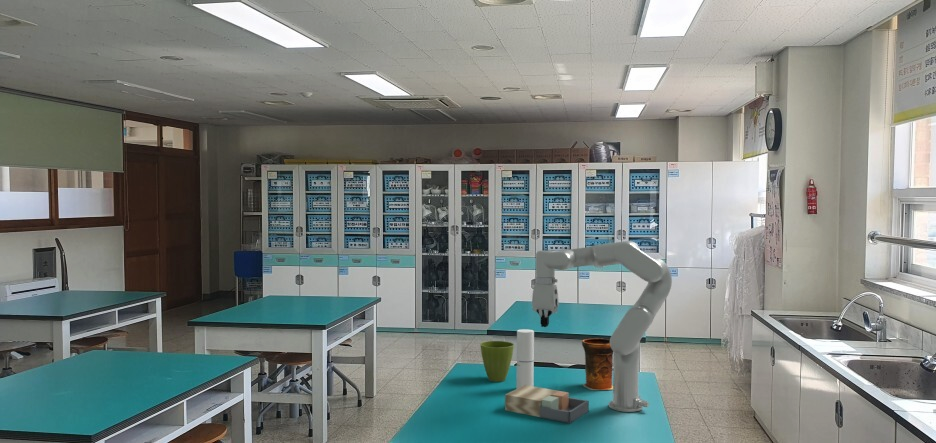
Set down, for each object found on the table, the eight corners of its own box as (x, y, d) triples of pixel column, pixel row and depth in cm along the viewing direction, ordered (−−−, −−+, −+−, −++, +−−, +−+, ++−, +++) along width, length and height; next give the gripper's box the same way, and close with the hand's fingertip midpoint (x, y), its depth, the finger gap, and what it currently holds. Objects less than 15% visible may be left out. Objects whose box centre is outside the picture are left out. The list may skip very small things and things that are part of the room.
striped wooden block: (559, 406, 259) (559, 390, 259) (540, 417, 246) (540, 401, 246) (525, 399, 267) (525, 385, 267) (505, 410, 254) (505, 394, 254)
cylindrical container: (527, 393, 277) (528, 333, 276) (513, 390, 282) (513, 331, 281) (536, 389, 283) (537, 330, 282) (522, 386, 287) (522, 328, 286)
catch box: (588, 411, 253) (588, 400, 253) (569, 423, 239) (569, 412, 239) (559, 405, 260) (559, 395, 260) (539, 417, 245) (539, 406, 245)
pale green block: (548, 411, 251) (558, 413, 249) (541, 415, 246) (551, 417, 244) (548, 395, 251) (558, 397, 249) (541, 399, 246) (551, 401, 244)
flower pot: (475, 376, 303) (475, 341, 302) (506, 374, 307) (506, 339, 307) (486, 385, 289) (486, 348, 288) (518, 382, 293) (518, 346, 293)
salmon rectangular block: (559, 406, 258) (568, 408, 256) (552, 410, 253) (561, 412, 251) (559, 390, 258) (568, 392, 255) (552, 394, 253) (562, 396, 250)
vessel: (590, 392, 278) (590, 344, 278) (576, 384, 292) (576, 338, 292) (621, 390, 282) (622, 342, 282) (606, 382, 296) (606, 337, 296)
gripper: (566, 281, 268) (565, 327, 269) (532, 279, 276) (532, 323, 277) (557, 283, 262) (557, 329, 263) (524, 280, 270) (523, 325, 271)
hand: (544, 326), depth 270 cm, fingers closed
